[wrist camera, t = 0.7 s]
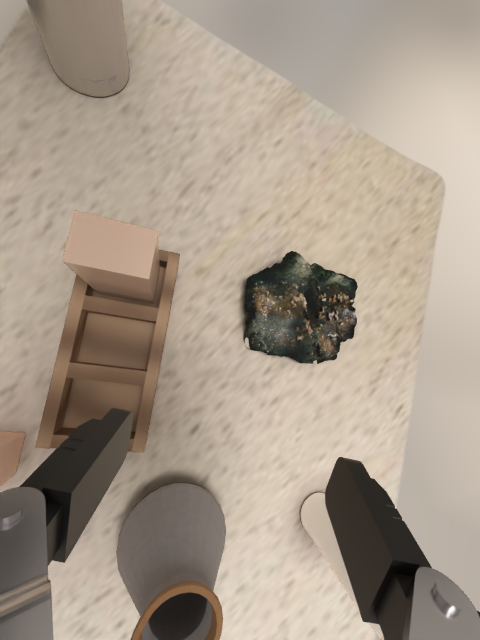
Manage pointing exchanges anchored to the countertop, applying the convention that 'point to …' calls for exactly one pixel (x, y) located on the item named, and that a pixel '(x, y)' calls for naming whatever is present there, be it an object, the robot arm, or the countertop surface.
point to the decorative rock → (299, 310)
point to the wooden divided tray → (108, 359)
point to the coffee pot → (174, 563)
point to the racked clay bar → (114, 256)
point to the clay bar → (10, 453)
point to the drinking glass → (328, 542)
